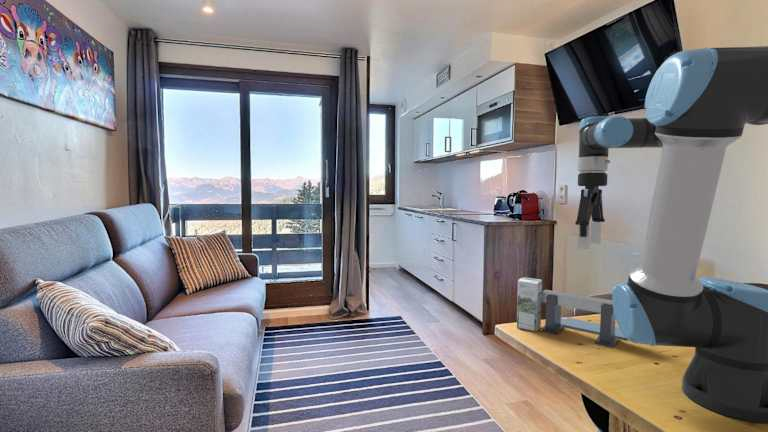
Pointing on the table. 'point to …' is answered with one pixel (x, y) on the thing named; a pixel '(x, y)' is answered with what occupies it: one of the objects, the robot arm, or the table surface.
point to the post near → (607, 328)
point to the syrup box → (529, 304)
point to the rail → (577, 301)
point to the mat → (587, 326)
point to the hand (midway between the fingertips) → (589, 245)
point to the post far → (552, 317)
